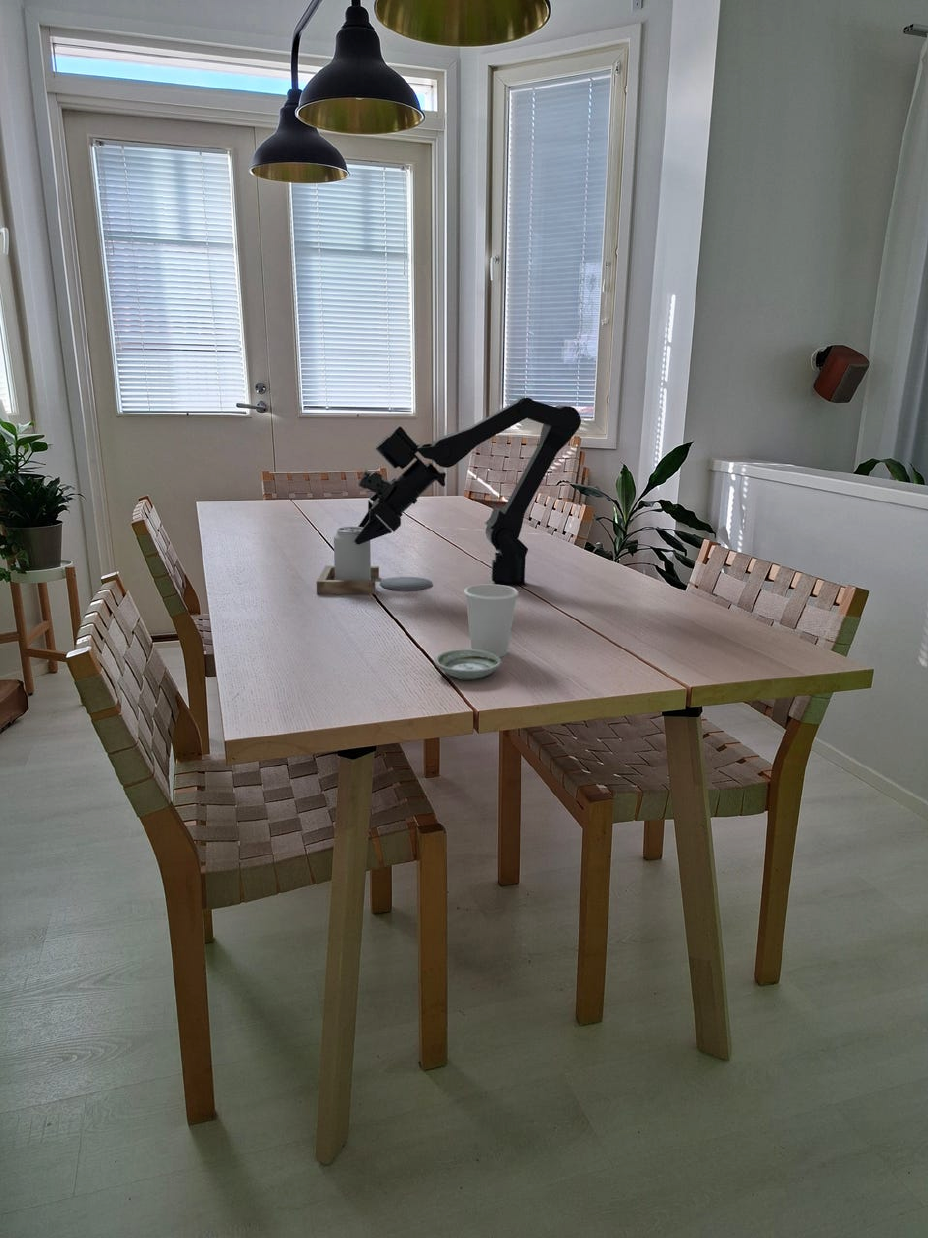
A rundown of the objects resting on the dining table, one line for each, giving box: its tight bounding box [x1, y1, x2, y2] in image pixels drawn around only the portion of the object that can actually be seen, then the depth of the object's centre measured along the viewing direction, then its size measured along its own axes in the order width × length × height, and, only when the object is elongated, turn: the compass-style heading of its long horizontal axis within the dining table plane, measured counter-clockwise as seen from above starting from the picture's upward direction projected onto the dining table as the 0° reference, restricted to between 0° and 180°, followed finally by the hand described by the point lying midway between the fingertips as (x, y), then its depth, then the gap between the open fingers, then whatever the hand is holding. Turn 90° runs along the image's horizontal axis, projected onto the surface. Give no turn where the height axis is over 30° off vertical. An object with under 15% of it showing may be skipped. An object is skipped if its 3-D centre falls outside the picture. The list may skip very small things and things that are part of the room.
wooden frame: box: [316, 565, 380, 595], centre depth 168 cm, size 12×15×2 cm
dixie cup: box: [463, 583, 519, 658], centre depth 126 cm, size 8×8×10 cm
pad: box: [379, 576, 433, 592], centre depth 169 cm, size 11×11×1 cm
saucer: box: [433, 648, 502, 680], centre depth 117 cm, size 10×10×2 cm
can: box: [333, 526, 372, 580], centre depth 166 cm, size 8×8×12 cm
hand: (355, 538), depth 165 cm, fingers open, 9 cm apart
